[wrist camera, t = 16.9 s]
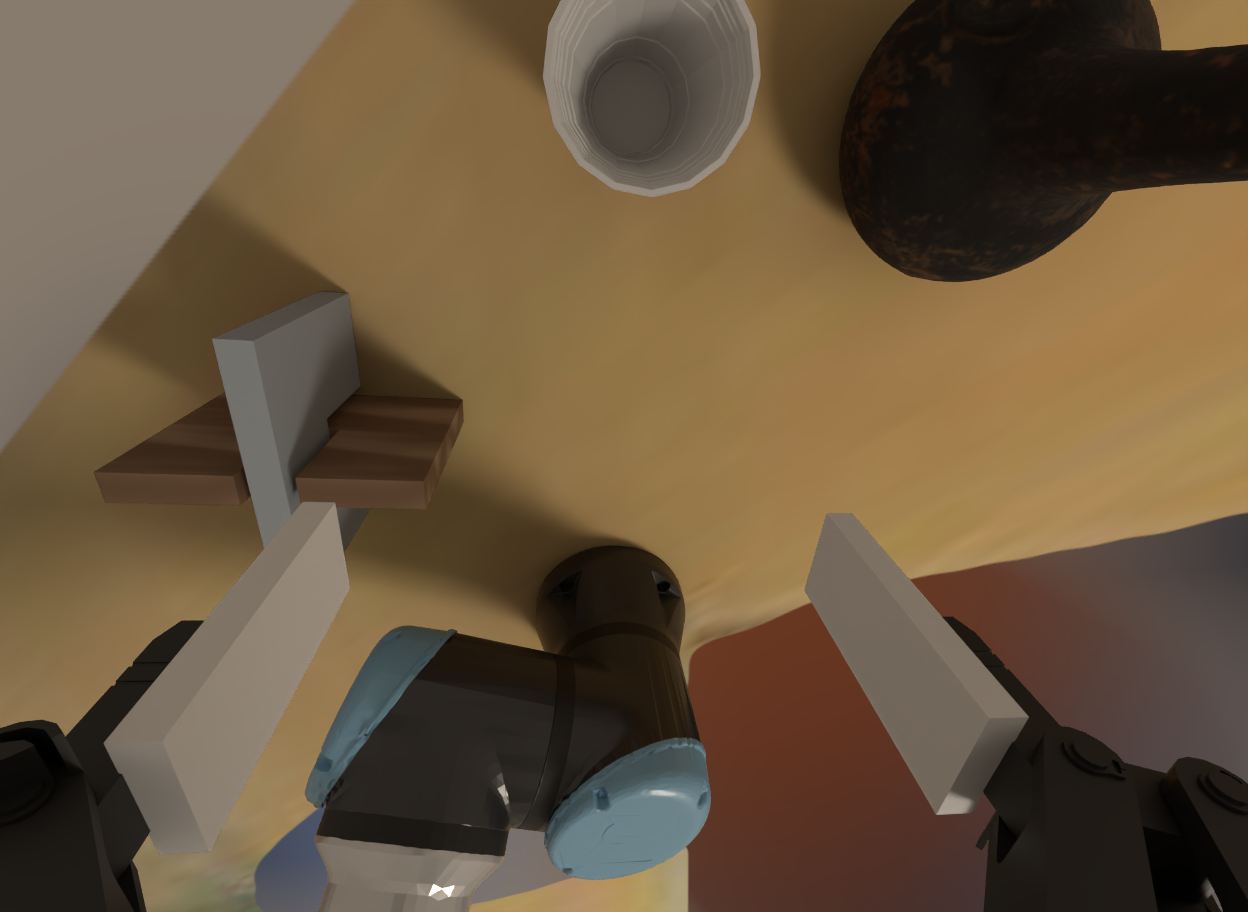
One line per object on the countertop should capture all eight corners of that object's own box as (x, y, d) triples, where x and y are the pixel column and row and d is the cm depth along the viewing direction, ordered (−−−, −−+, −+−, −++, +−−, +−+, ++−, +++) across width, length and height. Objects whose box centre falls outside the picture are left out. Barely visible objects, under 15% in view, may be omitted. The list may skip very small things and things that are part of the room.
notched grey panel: (375, 499, 49) (310, 607, 36) (352, 498, 49) (278, 607, 36) (348, 293, 41) (253, 341, 29) (320, 291, 41) (211, 338, 28)
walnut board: (463, 422, 46) (426, 509, 34) (235, 412, 44) (105, 502, 32) (462, 399, 46) (423, 481, 33) (229, 389, 43) (93, 472, 31)
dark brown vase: (1010, -83, 35) (2127, -750, 10) (1067, 180, 42) (1783, 175, 17) (765, 95, 38) (1148, -74, 13) (858, 311, 45) (1214, 466, 21)
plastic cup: (627, -39, 34) (656, -142, 23) (737, 106, 38) (805, 75, 27) (515, 106, 37) (495, 74, 26) (628, 227, 41) (651, 242, 30)
